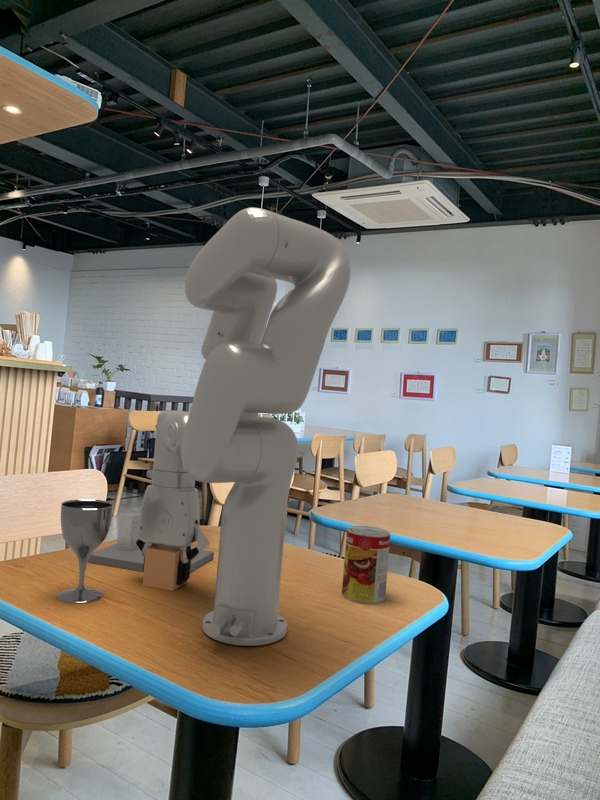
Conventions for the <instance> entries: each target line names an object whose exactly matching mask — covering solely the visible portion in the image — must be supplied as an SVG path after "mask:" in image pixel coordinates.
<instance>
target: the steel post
mask: <svg viewBox="0 0 600 800" xmlns="http://www.w3.org/2000/svg"><path fill="white" fill-rule="evenodd" d="M139 519H140V513H134V512H125V513H121V514H119V515H118V525H117V539H116V540H117V541H116V544H117V550H123V551H132V550H134V549H137V548H138V546H137V544H136V542H135V541H134V540H133V538H132V537H131V536H130V532H131V531H132V530H133V529H134V528H135V527H136V526H137V525H138V524H139Z"/></svg>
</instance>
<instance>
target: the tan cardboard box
mask: <svg viewBox="0 0 600 800" xmlns="http://www.w3.org/2000/svg"><path fill="white" fill-rule="evenodd" d="M179 562H181V557H180V551H179V549H178V547H171V546H165V545H158V544H154V545H152V546H149V547H147V548H146V549H145V562H144V572H143V575H142V576H143V577H142V586H143V587H148V588H149V587H150V588H155V589H161V590H166V591H169V592H170V591H171V592H173V591H175V590H176V589H178V588H180V587H181V586H183V585H184V584H186V583H187V582H188V581H189V579H188V580H187V582H185V583H184V584H182V585H177V574H178V564H179Z"/></svg>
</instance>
